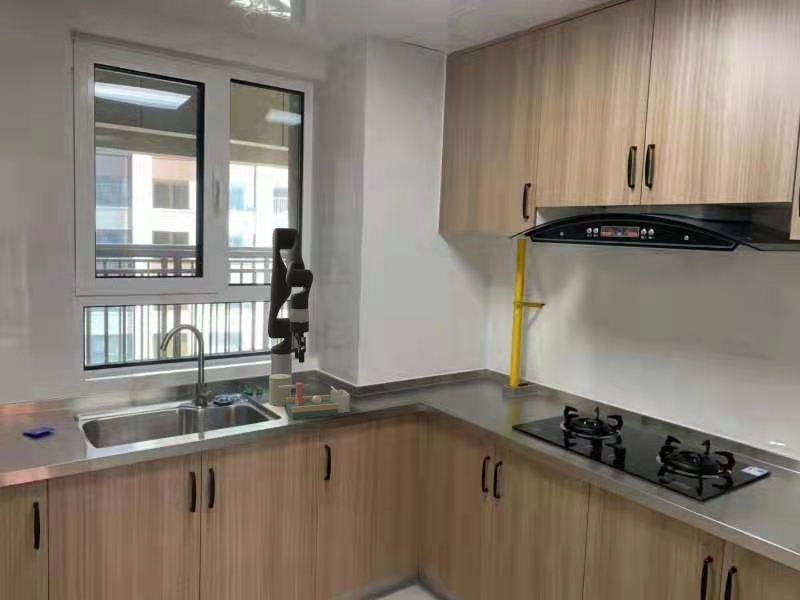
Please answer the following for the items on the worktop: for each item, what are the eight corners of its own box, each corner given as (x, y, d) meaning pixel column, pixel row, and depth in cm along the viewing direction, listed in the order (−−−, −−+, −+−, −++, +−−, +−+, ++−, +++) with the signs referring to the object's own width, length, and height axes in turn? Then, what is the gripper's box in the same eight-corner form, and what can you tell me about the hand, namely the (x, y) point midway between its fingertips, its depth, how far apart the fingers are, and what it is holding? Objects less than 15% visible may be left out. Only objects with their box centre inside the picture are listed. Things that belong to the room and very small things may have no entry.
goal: (330, 406, 254) (330, 386, 254) (343, 405, 256) (343, 385, 256) (336, 413, 245) (336, 391, 244) (350, 412, 247) (350, 390, 246)
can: (279, 407, 253) (279, 378, 252) (264, 403, 258) (264, 375, 257) (295, 402, 260) (295, 374, 259) (281, 398, 266) (281, 371, 264)
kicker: (277, 404, 245) (277, 382, 244) (307, 402, 249) (307, 380, 248) (280, 409, 239) (280, 386, 238) (311, 407, 243) (311, 384, 242)
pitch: (286, 408, 251) (286, 397, 250) (329, 405, 257) (329, 394, 256) (292, 418, 237) (292, 407, 236) (338, 415, 243) (338, 404, 242)
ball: (310, 404, 248) (310, 394, 248) (320, 403, 250) (320, 394, 249) (312, 407, 245) (312, 397, 244) (322, 406, 246) (322, 396, 246)
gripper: (286, 318, 247) (287, 357, 248) (293, 322, 233) (293, 364, 235) (305, 317, 249) (305, 356, 251) (312, 322, 236) (312, 363, 238)
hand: (299, 360), depth 243 cm, fingers open, 8 cm apart
